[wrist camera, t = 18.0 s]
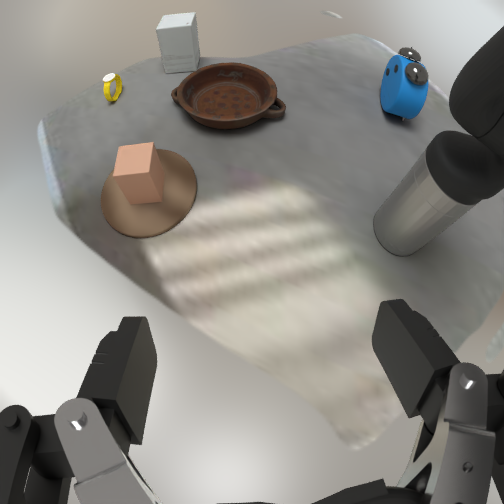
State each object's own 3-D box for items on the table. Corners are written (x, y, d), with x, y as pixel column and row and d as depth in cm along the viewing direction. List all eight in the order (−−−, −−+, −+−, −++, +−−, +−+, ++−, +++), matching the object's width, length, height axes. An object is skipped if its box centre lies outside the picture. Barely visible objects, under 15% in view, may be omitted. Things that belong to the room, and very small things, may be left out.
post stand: (149, 139, 50) (140, 113, 44) (217, 181, 47) (214, 154, 41) (86, 203, 46) (68, 181, 39) (149, 258, 43) (134, 240, 36)
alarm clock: (408, 132, 54) (438, 81, 40) (382, 123, 54) (409, 70, 40) (399, 94, 58) (422, 47, 44) (376, 86, 59) (396, 37, 44)
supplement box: (200, 55, 60) (197, 11, 48) (196, 72, 57) (191, 25, 46) (170, 57, 60) (163, 14, 48) (164, 74, 57) (155, 29, 45)
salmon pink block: (134, 176, 46) (119, 146, 39) (164, 173, 47) (153, 142, 39) (130, 204, 45) (112, 176, 37) (162, 201, 45) (148, 172, 37)
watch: (117, 105, 54) (108, 87, 48) (106, 106, 54) (97, 88, 48) (127, 86, 56) (119, 67, 50) (116, 87, 56) (108, 69, 50)
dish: (188, 75, 57) (185, 58, 53) (290, 88, 57) (293, 70, 52) (158, 131, 51) (152, 112, 47) (277, 148, 51) (281, 129, 46)
